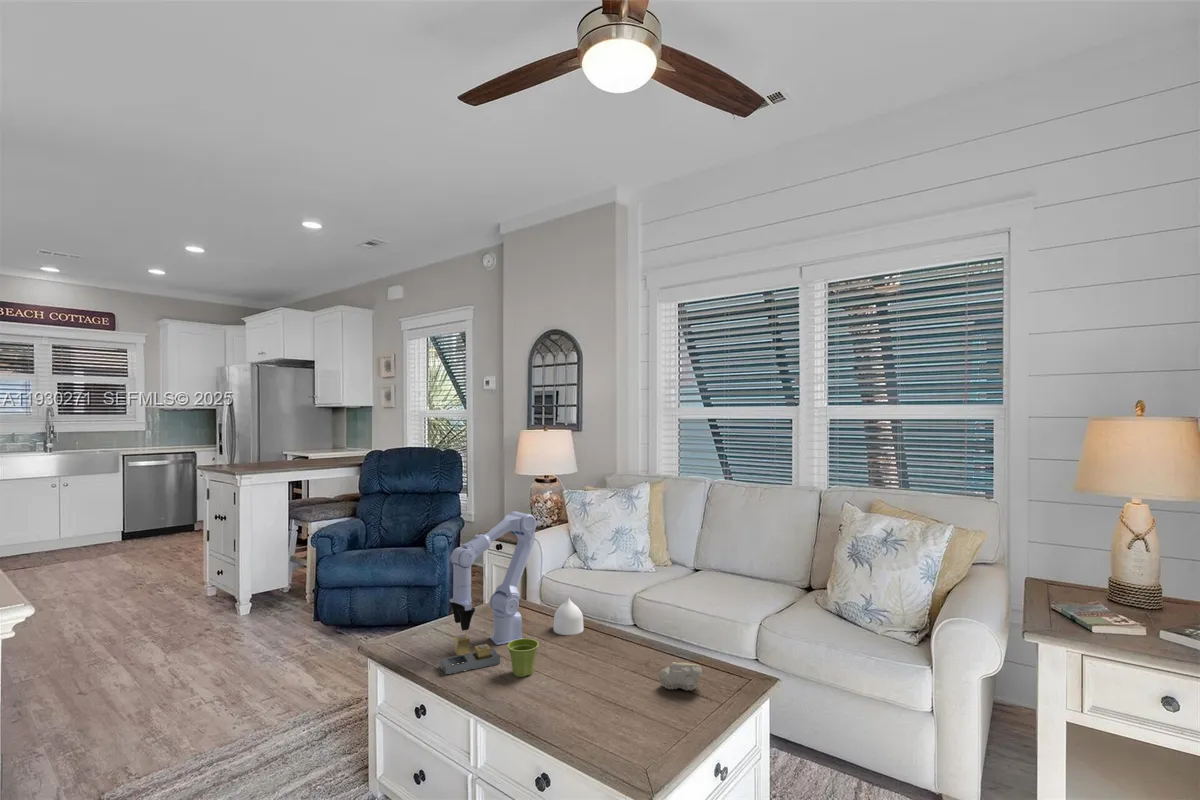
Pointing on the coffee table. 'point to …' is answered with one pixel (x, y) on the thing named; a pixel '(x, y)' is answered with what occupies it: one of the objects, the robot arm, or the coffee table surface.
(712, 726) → the coffee table surface
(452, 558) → the robot arm
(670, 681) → the fossil replica
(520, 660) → the plant pot
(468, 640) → the gold square block
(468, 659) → the grey slotted tray
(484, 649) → the tan square frame
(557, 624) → the teardrop
